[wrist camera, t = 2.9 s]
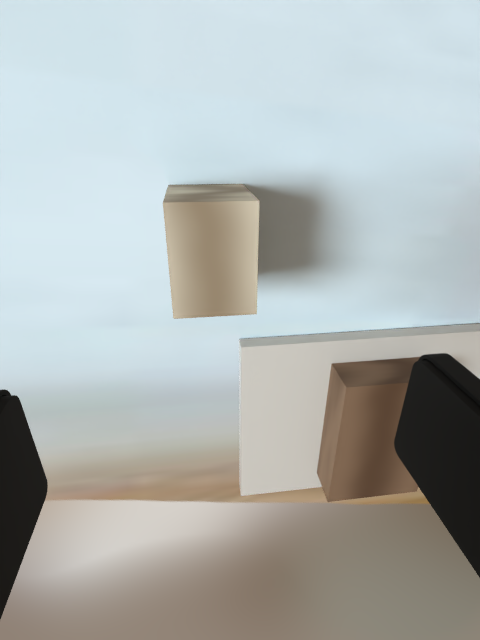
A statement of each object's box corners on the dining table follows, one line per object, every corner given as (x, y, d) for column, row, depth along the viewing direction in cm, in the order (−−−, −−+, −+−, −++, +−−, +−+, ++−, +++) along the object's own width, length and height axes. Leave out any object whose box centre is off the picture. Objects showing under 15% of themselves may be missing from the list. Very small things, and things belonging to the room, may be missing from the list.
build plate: (506, 321, 30) (517, 328, 29) (454, 461, 38) (462, 470, 36) (238, 339, 28) (241, 347, 27) (239, 484, 35) (240, 495, 34)
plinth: (429, 356, 29) (453, 378, 27) (399, 463, 35) (416, 491, 32) (331, 363, 28) (346, 387, 26) (316, 472, 34) (327, 501, 31)
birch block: (242, 183, 23) (259, 200, 18) (242, 275, 26) (256, 314, 20) (168, 184, 22) (162, 202, 17) (176, 278, 25) (173, 318, 20)
